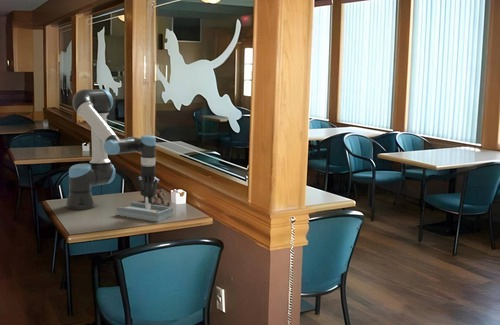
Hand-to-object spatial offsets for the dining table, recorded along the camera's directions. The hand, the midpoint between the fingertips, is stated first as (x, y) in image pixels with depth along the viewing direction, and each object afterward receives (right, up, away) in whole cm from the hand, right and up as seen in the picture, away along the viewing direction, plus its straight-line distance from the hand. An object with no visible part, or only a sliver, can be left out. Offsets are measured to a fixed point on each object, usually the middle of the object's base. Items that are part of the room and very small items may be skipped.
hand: (148, 208), depth 309 cm
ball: (+3, -3, -1) cm, 4 cm away
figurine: (+1, 0, +26) cm, 26 cm away
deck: (-2, -4, +1) cm, 4 cm away
